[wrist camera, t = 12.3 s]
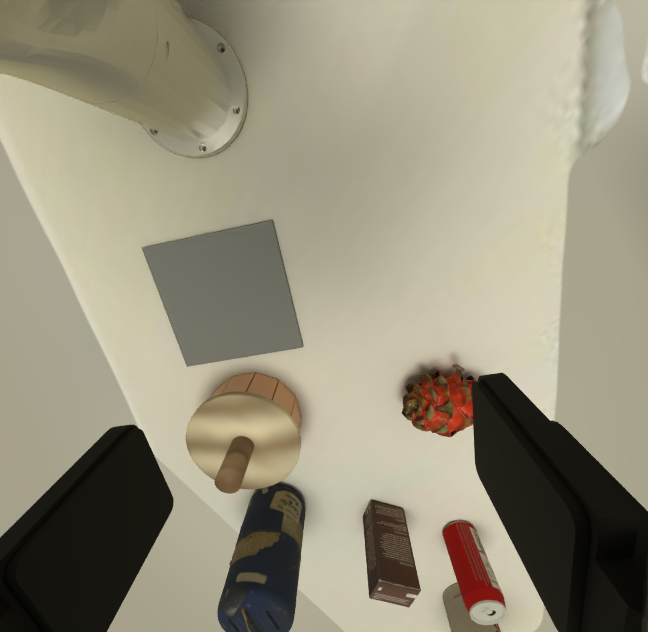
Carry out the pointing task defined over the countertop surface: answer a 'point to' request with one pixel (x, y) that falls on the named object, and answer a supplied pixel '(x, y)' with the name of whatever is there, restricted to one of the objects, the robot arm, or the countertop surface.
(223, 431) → the lid
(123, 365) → the countertop surface
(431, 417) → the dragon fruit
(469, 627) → the thermos bottle
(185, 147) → the robot arm
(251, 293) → the mat
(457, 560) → the soda can
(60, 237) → the countertop surface
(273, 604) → the canister
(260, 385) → the ring
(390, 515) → the box
